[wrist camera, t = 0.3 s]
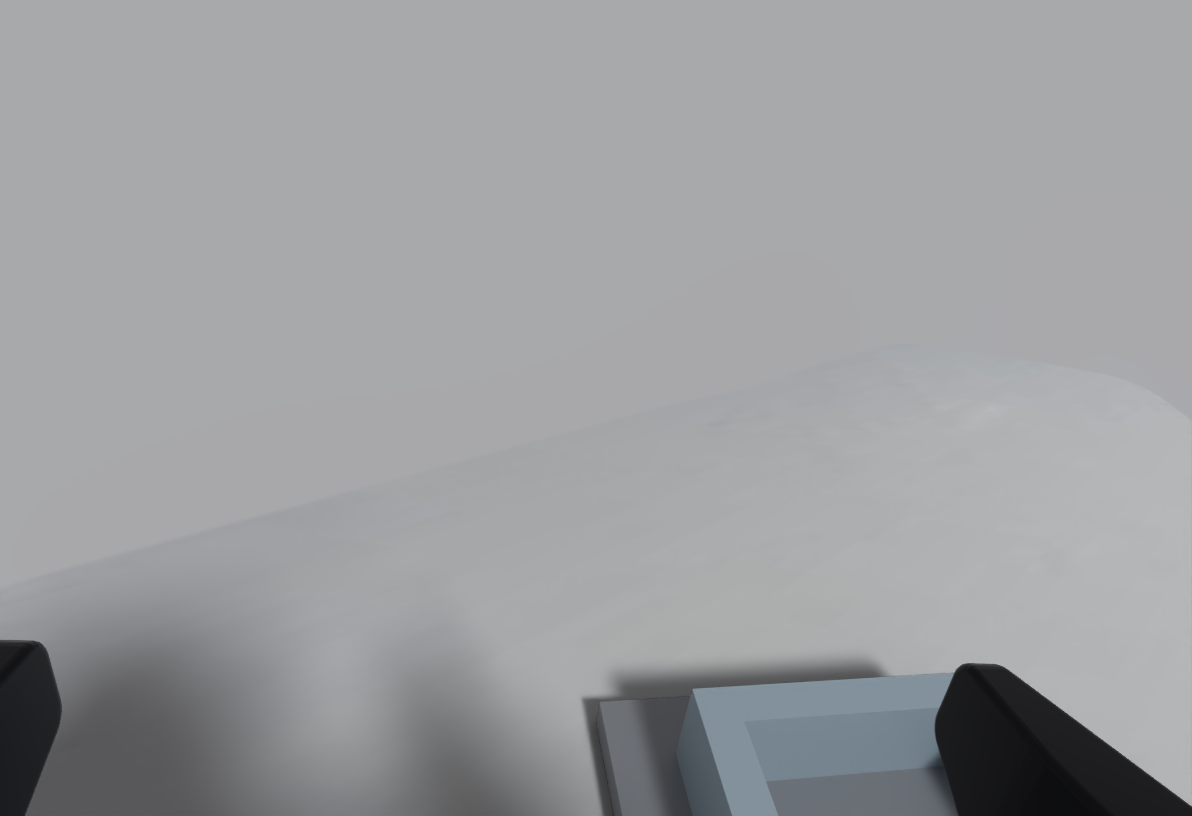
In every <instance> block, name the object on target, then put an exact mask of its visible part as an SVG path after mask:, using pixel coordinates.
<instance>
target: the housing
mask: <svg viewBox="0 0 1192 816" xmlns="http://www.w3.org/2000/svg"><path fill="white" fill-rule="evenodd" d="M953 675H954V673H940V674H924V675H908V676H892V677H875V678H859V679H843V680H827V681H810V682H794V683H778V684H762V685H746V686H729V687H713V688H697V689H692V692H691V696H683V697H667V698H651V699H636V700H620V701H604V702H599V708H598V714H597V719H596V724H597V729H598V734H599V739H600V745H601V750H602V755H603V760H604V766H605V771H606V776H607V781H608V787H609V792H610V797H611V802H612V808H613V813H614V816H958V814H957V810H956V807H955V804H954V800H953V797H952V793H951V790H950V787H949V783H948V780H947V777H946V773H945V770H944V766H943V763H942V760H941V756H940V753H939V749H938V746H937V743H936V738H935V731H934V726H935V718H936V714H937V712H938V709H939V707H940V705H941V703H942V700H943V698H944V696H945V693H946V691H947V689H948V686H949V684H950V682H951V679H952V677H953Z"/></svg>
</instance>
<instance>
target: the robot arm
mask: <svg viewBox="0 0 1192 816" xmlns="http://www.w3.org/2000/svg"><path fill="white" fill-rule="evenodd" d="M61 713H62V705H61V699H60V695H59V692H58V688H57V684H56V681H55V677H54V673H53V670H52V666H51V662H50V659H49V655H48V652H47V650H46V648H45V647H44V646H43V645H42V644H41V643H40V642H36V641H26V640H0V816H25V814H26V812H27V809H28V806H29V804H30V801H31V799H32V796H33V793H34V791H35V788H36V786H37V783H38V780H39V778H40V775H41V773H42V770H43V767H44V765H45V762H46V760H47V757H48V754H49V752H50V749H51V747H52V744H53V741H54V739H55V736H56V734H57V731H58V728H59V724H60V720H61ZM934 731H935V738H936V743H937V746H938V749H939V753H940V756H941V760H942V763H943V766H944V770H945V773H946V777H947V780H948V783H949V787H950V790H951V793H952V797H953V800H954V804H955V807H956V810H957V814H958V816H1192V806H1190V805H1189V804H1188V803H1186V802H1185V801H1184V800H1182V799H1181V798H1180V797H1178V796H1177V795H1176V794H1174V793H1173V792H1172V791H1170V790H1169V789H1168V788H1166V787H1165V786H1163V785H1162V784H1161V783H1159V782H1158V781H1157V780H1155V779H1154V778H1153V777H1151V776H1150V775H1149V774H1147V773H1146V772H1145V771H1143V770H1142V769H1141V768H1139V767H1138V766H1137V765H1135V764H1134V763H1133V762H1131V761H1130V760H1129V759H1127V758H1126V757H1125V756H1123V755H1122V754H1121V753H1119V752H1118V751H1116V750H1115V749H1114V748H1112V747H1111V746H1110V745H1108V744H1107V743H1106V742H1104V741H1103V740H1102V739H1100V738H1099V737H1098V736H1096V735H1095V734H1094V733H1092V732H1091V731H1090V730H1088V729H1087V728H1086V727H1084V726H1083V725H1082V724H1080V723H1079V722H1078V721H1076V720H1075V719H1074V718H1072V717H1071V716H1069V715H1068V714H1067V713H1065V712H1064V711H1063V710H1061V709H1060V708H1059V707H1057V706H1056V705H1055V704H1053V703H1052V702H1051V701H1049V700H1048V699H1047V698H1045V697H1044V696H1043V695H1041V694H1040V693H1039V692H1037V691H1036V690H1035V689H1033V688H1032V687H1031V686H1029V685H1028V684H1027V683H1025V682H1024V681H1022V680H1021V679H1020V678H1018V677H1017V676H1016V675H1014V674H1013V673H1012V672H1010V671H1009V670H1008V669H1006V668H1004V667H1003V666H1000V665H996V664H976V663H966V664H962V665H961V666H960V667H958V668H957V669H956V671H955V673H954V675H953V677H952V679H951V682H950V684H949V686H948V689H947V691H946V693H945V696H944V698H943V700H942V703H941V705H940V707H939V709H938V712H937V714H936V718H935V726H934Z"/></svg>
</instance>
